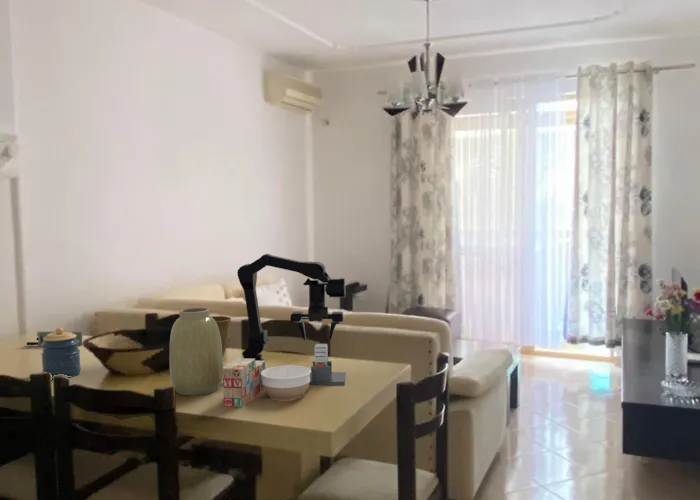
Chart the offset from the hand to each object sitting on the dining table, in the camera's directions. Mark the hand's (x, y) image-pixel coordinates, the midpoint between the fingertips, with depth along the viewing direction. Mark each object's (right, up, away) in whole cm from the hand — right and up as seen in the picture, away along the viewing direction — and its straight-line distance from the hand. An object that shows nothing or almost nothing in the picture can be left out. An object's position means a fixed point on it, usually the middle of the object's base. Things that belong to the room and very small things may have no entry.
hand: (317, 340), depth 234 cm
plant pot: (-43, -11, +25) cm, 51 cm away
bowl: (-9, -14, -26) cm, 31 cm away
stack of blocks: (-22, -15, -26) cm, 37 cm away
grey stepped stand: (+2, -13, -10) cm, 16 cm away
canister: (-94, -14, +5) cm, 96 cm away
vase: (-39, -14, -18) cm, 45 cm away
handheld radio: (-120, -11, +55) cm, 133 cm away
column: (+2, -9, -11) cm, 14 cm away
